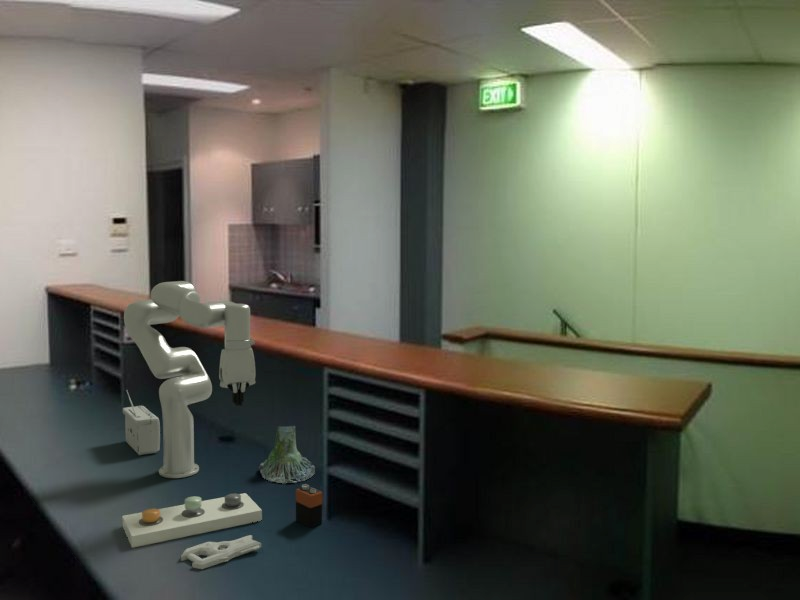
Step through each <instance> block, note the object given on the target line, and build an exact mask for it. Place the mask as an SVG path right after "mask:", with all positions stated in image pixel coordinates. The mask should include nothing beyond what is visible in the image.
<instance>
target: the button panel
mask: <svg viewBox="0 0 800 600" xmlns="http://www.w3.org/2000/svg"><path fill="white" fill-rule="evenodd" d="M239 494H240V495H241V504H240V505H238V506H233V507H229V506H226V505H225V496H223V497H218V498H212V499H206V500H201V504H202V506H201V507H200V508H199V509H195V510H187V509H185V503H183V504H180V505H179V504H178V505H174V506H168V507H164V508H158V509H159V510H160V519H159V520H158V521H155V522H151V523H146V522H143V521H142V512H143V511H141V512H135V513H131V514H125V515H122V518H121V519H122V528H123V530H125V531H124V533H125V534H126V537H128V538H127V540H128V542H129V544H130V546H131V548H132V549H133V548H137V547H142V546H147V545H151V544H156V543H161V542H166V541H171V540H175V539H176V540H177V539H181V538H185V537H189V536H194V535H200V534H205V533H209V532H214V531H220V530H223V529H228V528H233V527H237V526H242V525H248V524H252V522H253V523H256V522H257V521H258V522H262V521H263V510H262V508H261V507H259V505H258V504H257V503H256V502H255V501H254V500H253V499H252V498H251V496H249V495H248V494H247V493H246V492H245V493H244V492H243V493H239ZM261 520H262V521H261Z"/></svg>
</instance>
